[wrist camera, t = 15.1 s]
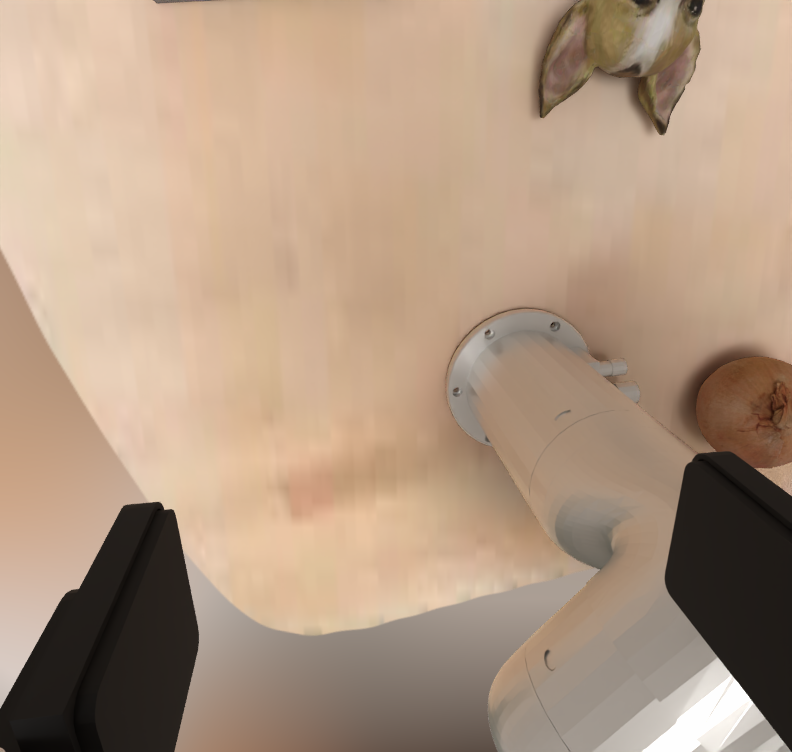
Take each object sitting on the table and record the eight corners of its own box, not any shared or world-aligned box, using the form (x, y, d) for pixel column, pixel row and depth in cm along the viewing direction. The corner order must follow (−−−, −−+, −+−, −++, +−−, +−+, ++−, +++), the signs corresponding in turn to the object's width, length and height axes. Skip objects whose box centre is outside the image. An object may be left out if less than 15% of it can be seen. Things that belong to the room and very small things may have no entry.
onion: (677, 359, 55) (717, 363, 45) (786, 351, 54) (852, 353, 44) (683, 458, 56) (724, 483, 46) (790, 453, 54) (857, 478, 44)
